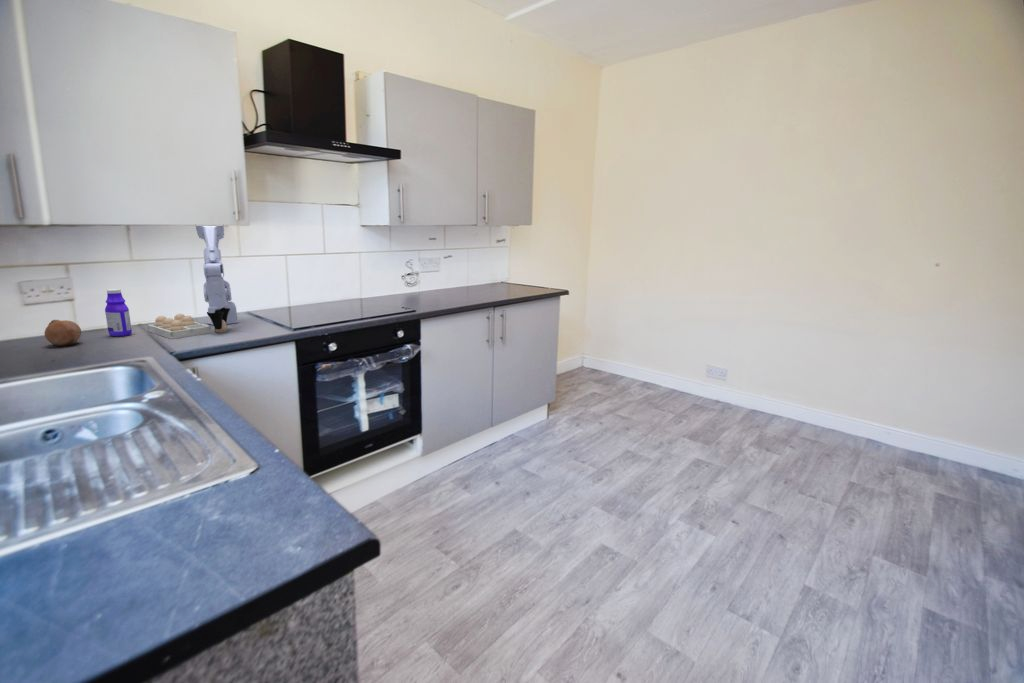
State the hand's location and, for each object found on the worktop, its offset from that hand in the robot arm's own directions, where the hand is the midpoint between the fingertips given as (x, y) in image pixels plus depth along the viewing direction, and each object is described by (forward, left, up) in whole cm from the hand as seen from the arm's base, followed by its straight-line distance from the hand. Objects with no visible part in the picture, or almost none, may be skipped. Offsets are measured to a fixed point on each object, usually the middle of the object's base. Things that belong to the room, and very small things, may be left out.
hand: (220, 327), depth 199 cm
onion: (+43, -18, -2) cm, 47 cm away
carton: (+10, -11, -1) cm, 15 cm away
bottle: (+26, -21, -2) cm, 34 cm away
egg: (0, 0, -1) cm, 1 cm away
